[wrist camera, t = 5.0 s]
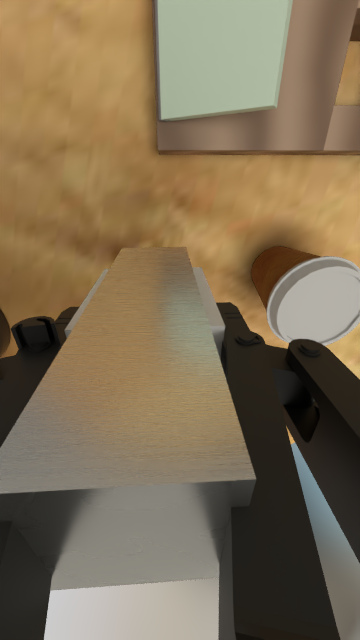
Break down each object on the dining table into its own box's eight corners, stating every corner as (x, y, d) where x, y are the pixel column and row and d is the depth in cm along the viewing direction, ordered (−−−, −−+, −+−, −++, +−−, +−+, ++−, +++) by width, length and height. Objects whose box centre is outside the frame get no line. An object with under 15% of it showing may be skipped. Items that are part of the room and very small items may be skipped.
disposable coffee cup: (245, 232, 31) (284, 260, 21) (319, 234, 32) (394, 261, 21) (234, 301, 36) (262, 352, 25) (299, 301, 36) (352, 351, 26)
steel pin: (128, 305, 18) (48, 590, 5) (122, 247, 16) (-30, 495, 3) (185, 303, 18) (229, 577, 6) (186, 247, 16) (256, 479, 4)
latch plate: (162, 122, 21) (156, 120, 21) (158, -22, 18) (150, -31, 17) (276, 108, 17) (273, 105, 17) (305, -85, 13) (302, -100, 13)
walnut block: (159, 154, 27) (157, 149, 22) (153, -19, 21) (149, -72, 16) (376, 155, 28) (415, 150, 23) (429, -11, 22) (496, -58, 17)
